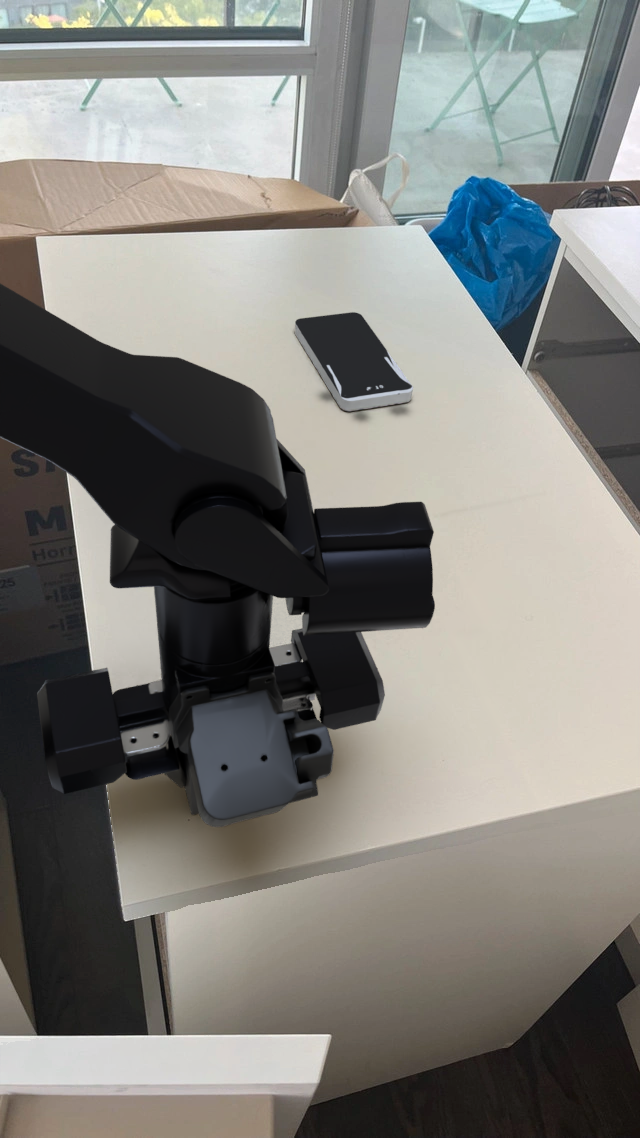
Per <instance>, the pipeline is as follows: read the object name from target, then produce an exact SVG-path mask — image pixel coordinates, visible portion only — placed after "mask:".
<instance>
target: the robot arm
mask: <svg viewBox="0 0 640 1138" xmlns="http://www.w3.org/2000/svg"><path fill="white" fill-rule="evenodd" d="M0 439H2V440H4V441H7V442H9V443H11V444H13V445H15V446H17V447H19V448H22V449H24V450H26V451H27V452H29V453H32V454H34V455H36V456H37V457H40V458H42V459H44V460H46V461H48V462H50V463H51V464H53V465H55V467H57V468H59V469H60V470H62V471H64V472H65V473H66V474H68V475H70V476H71V477H73V478H74V479H75V480H76V481H77V482H78V484H79V485H80V486H81V487H82V488H83V489H84V491H86V493H87V494H88V495H89V496H90V497H91V499H92V500H93V501H94V502H95V504H96V505H97V506H98V507H99V508H100V509H101V511H102V512H103V513H104V514H105V515H106V517H107V518H108V519H109V520H110V521H111V522H112V524H113V525H112V527H110V544H109V546H110V548H109V550H110V551H109V584H110V585H111V587H113V588H114V589H136V588H137V589H138V588H139V589H140V588H153V593H154V603H155V616H156V628H157V629H156V630H157V641H158V652H159V665H160V676H161V679H160V680H155V681H154V680H153V681H150V682H148V683H142V684H139V685H133V686H128V687H124V688H119V689H117V690H116V691H114V692H113V688H112V683H111V678H110V674H109V668H108V667H103V668H98V669H93V670H88V671H87V670H86V671H84V672H83V671H82V672H78V673H73V674H68V675H63V676H57V677H52V678H48V679H45V681H44V682H43V684H42V685H41V686H40V688H39V689H38V691H37V693H36V697H37V698H36V699H37V706H38V714H39V723H40V730H41V737H42V745H43V754H44V760H45V766H46V771H47V775H48V778H49V783H50V785H51V788H52V789H54V790H56V791H58V792H59V793H61V794H63V795H68V794H71V793H74V792H75V793H76V792H79V791H82V790H87V789H92V788H96V787H100V786H104V785H108V784H109V785H110V784H113V783H115V782H116V781H118V780H119V779H120V778H121V777H123V776H124V775H125V776H126V777H127V778H129V779H130V780H133V781H134V780H135V781H138V780H141V779H147V778H151V777H155V776H160V775H163V774H164V775H165V776H166V777H167V778H168V779H170V780H171V781H172V782H173V783H174V784H176V785H177V786H178V787H179V788H181V789H182V788H185V787H186V774H185V770H184V765H183V761H182V757H181V753H180V751H181V752H184V753H186V754H187V758H188V763H189V768H190V773H191V777H192V782H193V787H194V791H195V796H196V801H197V807H198V812H199V814H198V815H199V817H200V819H201V820H202V821H203V822H204V823H205V824H206V825H207V826H209V827H212V828H222V827H225V826H229V825H234V824H237V823H240V822H244V821H247V820H252V819H256V818H259V817H263V816H267V815H273V814H275V813H279V812H280V811H282V810H284V808H286V807H287V806H288V805H289V804H291V803H295V802H300V801H303V800H308V799H311V798H315V797H318V796H319V790H318V784H317V781H318V780H321V779H325V778H327V777H329V775H330V774H331V773H332V771H333V770H332V769H333V764H334V763H333V761H334V751H335V750H334V746H333V743H332V739H331V735H330V732H329V729H330V730H333V731H336V730H340V729H344V728H348V727H353V726H357V725H362V724H365V723H370V722H373V721H376V720H377V719H378V716H379V715H380V713H381V711H382V707H383V704H384V701H385V697H386V692H385V686H384V681H383V678H382V676H381V674H380V672H379V669H378V667H377V664H376V662H375V659H374V657H373V655H372V653H371V651H370V648H369V646H368V644H367V642H366V639H365V638H364V635H363V633H366V632H381V631H384V632H385V631H394V630H395V631H396V630H411V629H412V630H413V629H425V628H427V627H428V626H429V625H430V623H431V621H432V619H433V617H434V613H435V609H436V603H435V599H434V596H433V595H434V593H433V590H434V587H433V586H434V574H433V573H434V572H433V559H432V549H431V545H432V541H433V537H434V533H435V531H434V528H433V525H432V522H431V519H430V516H429V513H428V509H427V506H426V504H425V502H423V501H401V502H394V503H390V504H386V505H377V506H375V505H374V506H373V505H372V506H348V507H323V508H318V507H317V508H314V507H313V503H312V498H311V492H310V488H309V482H308V477H307V474H306V469H305V468H304V467H303V465H301V463H300V462H299V461H298V460H297V459H296V458H295V457H294V456H293V455H292V453H290V451H289V450H288V449H287V448H286V447H285V446H284V444H282V443H281V441H280V440H278V437H277V433H276V428H275V423H274V418H273V415H272V411H271V408H270V407H269V405H268V404H267V402H266V400H265V399H264V398H263V397H262V396H261V395H259V394H258V393H257V391H255V390H254V389H253V388H251V387H250V386H248V385H246V384H244V383H242V382H240V381H238V380H234V379H233V378H230V377H228V376H225V375H222V374H220V373H217V372H216V371H214V370H210V369H208V368H206V367H203V366H200V365H198V364H195V363H194V362H191V361H188V360H186V359H183V358H181V357H177V356H161V355H146V354H132V353H129V352H126V351H124V350H121V349H119V348H116V347H114V346H112V345H110V344H106V343H104V342H101V340H100V341H99V340H98V339H96V338H95V337H93V336H91V335H89V334H87V333H86V332H85V331H82V330H81V329H80V328H78V327H75V326H74V325H72V324H70V323H69V322H68V321H66V320H64V319H62V318H61V317H58V315H55V314H53V313H52V312H50V311H48V310H46V309H45V308H43V307H42V306H40V305H38V304H37V303H35V302H33V301H31V300H30V299H28V298H26V297H24V295H21V294H20V293H17V292H16V291H15V290H12V289H11V288H9V287H8V286H6V285H4V284H3V283H0ZM274 598H278V599H285V606H286V610H287V613H288V615H289V616H301V615H302V617H301V620H302V621H301V625H302V628H297V629H292V630H291V637H290V642H291V643H287V644H280V645H276V646H271V647H270V645H271V632H272V630H271V629H272V617H273V603H274ZM315 699H317V702H318V705H319V707H320V711H319V717H318V718H319V719H318V718H317V715H316V713H315V710H314V707H313V706H314V704H313V702H312V701H314V700H315Z"/></svg>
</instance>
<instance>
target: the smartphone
mask: <svg viewBox="0 0 640 1138" xmlns="http://www.w3.org/2000/svg"><path fill="white" fill-rule="evenodd" d="M294 334H295V336H296V338H297V340H298V341H299V343H300V345H301V346H302V348H303V349H304V351H305V353H306V354H307V356H308V358H309V359H310V361H311V362H312V364H313V366H314V368H315V369H316V371H317V372H318V373H319V375H320V378H321V379H322V381H323V382H324V384H325V385H326V387H327V390H329V392H330V394H331V396H332V397H333V399H334V400H335V402H336V404H337V405H338V407H339V408H340V409H341V410H342V411H345V412H355V411H361V410H367V409H368V410H369V409H373V408H381V407H387V406H393V405H399V404H405V403H406V404H407V403H409V402H411V400H412V398H413V397H412V396H413V392H414V386H413V384H412V383H411V382H410V381H409V379H408V378H407V376H406V375H405V373H404V371H403V370H402V369H401V368H400V366H399V365H398V363H397V362H396V361H395V359H394V358H393V357H392V355H391V354H390V352H389V351H388V350H387V348H386V346H384V344H383V343H382V341H381V340H380V338H379V337H378V336H377V335H376V333H375V331H373V328H372V327H371V326H370V324H369V323H368V322H367V320H366V319H365V318H364V316H363V315H362V314H361V313H359V312H355V311H354V312H353V311H352V312H342V313H334V314H324V315H318V316H317V315H316V316H310V317H301V318H300V317H299V318H298V319H296V320H295V323H294Z"/></svg>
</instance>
